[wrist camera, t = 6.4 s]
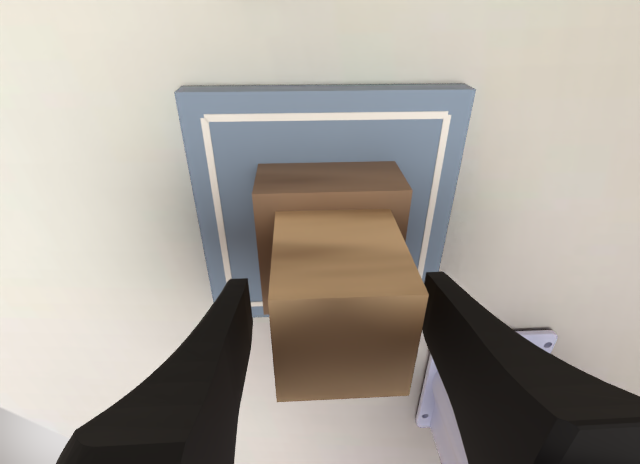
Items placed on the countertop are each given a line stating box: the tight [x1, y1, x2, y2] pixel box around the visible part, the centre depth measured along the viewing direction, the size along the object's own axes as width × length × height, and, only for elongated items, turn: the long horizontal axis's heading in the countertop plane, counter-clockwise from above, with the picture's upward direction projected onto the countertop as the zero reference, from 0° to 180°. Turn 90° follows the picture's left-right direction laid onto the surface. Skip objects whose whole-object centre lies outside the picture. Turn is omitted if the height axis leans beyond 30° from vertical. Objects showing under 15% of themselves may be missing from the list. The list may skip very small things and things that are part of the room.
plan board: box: [174, 84, 476, 317], centre depth 18 cm, size 12×12×4 cm
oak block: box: [268, 209, 429, 402], centre depth 14 cm, size 4×4×5 cm
